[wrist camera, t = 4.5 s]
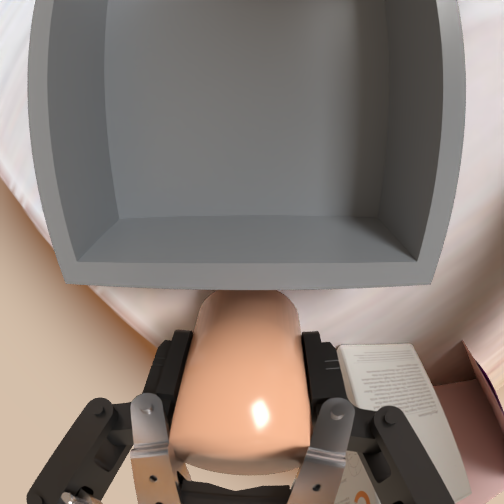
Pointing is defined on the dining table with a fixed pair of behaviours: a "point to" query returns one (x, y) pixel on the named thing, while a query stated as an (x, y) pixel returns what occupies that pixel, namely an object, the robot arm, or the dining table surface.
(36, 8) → the tote
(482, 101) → the dining table surface
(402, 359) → the small box
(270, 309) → the peach rounded piece
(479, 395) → the greeting card
